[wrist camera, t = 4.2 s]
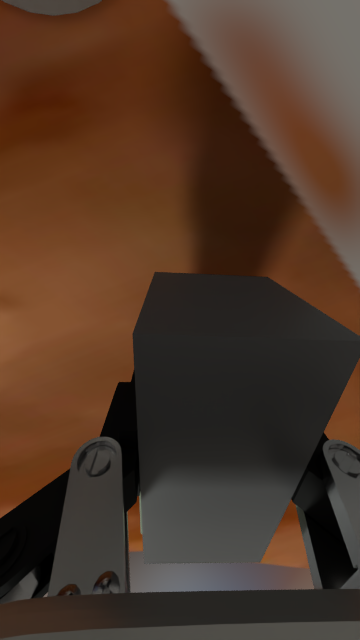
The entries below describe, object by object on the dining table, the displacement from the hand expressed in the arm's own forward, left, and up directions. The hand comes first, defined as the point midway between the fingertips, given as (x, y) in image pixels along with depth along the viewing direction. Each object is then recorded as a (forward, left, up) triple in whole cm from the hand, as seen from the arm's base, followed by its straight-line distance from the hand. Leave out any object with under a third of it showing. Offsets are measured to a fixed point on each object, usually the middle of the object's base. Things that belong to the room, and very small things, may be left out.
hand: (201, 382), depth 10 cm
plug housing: (0, 0, -1) cm, 1 cm away
